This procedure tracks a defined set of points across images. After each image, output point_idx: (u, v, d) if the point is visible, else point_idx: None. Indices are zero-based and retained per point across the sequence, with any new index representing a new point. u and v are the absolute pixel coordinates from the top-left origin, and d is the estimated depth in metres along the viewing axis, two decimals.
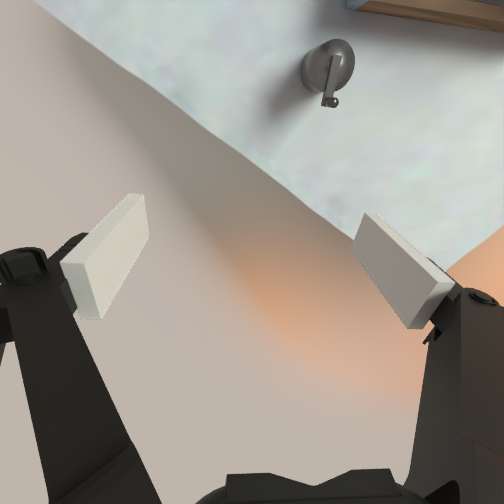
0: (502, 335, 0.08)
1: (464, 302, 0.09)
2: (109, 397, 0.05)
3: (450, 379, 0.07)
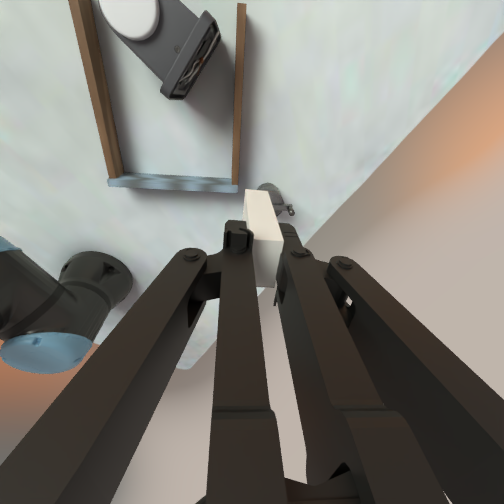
0: (322, 281, 0.09)
1: (290, 262, 0.10)
2: (263, 364, 0.06)
3: (306, 345, 0.07)
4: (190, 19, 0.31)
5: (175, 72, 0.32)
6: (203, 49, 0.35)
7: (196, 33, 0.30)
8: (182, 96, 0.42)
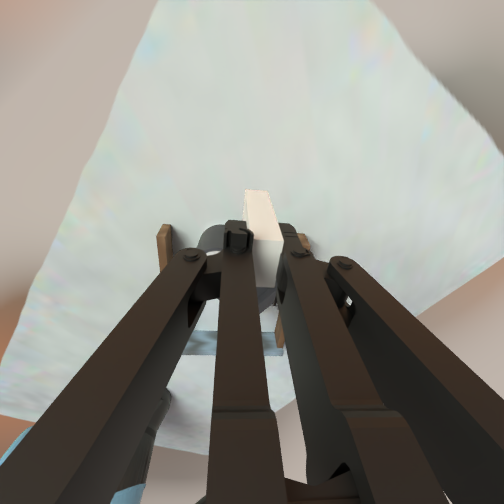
0: (322, 281, 0.09)
1: (290, 262, 0.10)
2: (263, 364, 0.06)
3: (306, 345, 0.07)
4: None
5: None
6: None
7: (273, 296, 0.35)
8: None
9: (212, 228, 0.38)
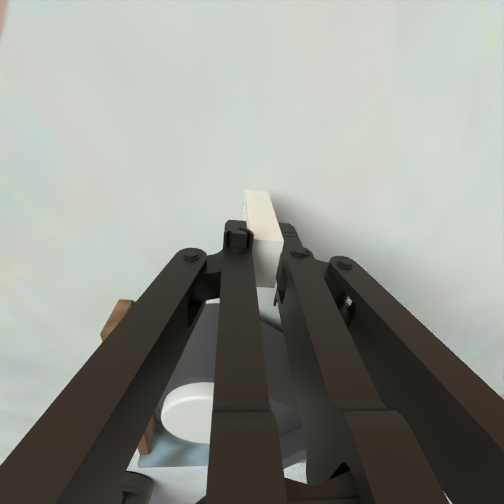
0: (322, 281, 0.09)
1: (290, 262, 0.10)
2: (264, 364, 0.06)
3: (306, 345, 0.07)
4: (297, 416, 0.20)
5: None
6: None
7: None
8: None
9: None
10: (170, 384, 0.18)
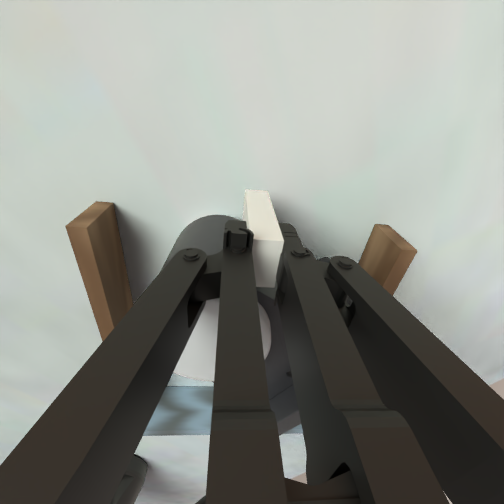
0: (322, 281, 0.09)
1: (290, 262, 0.10)
2: (263, 364, 0.06)
3: (306, 345, 0.07)
4: None
5: (289, 423, 0.16)
6: None
7: None
8: None
9: (198, 223, 0.18)
10: None
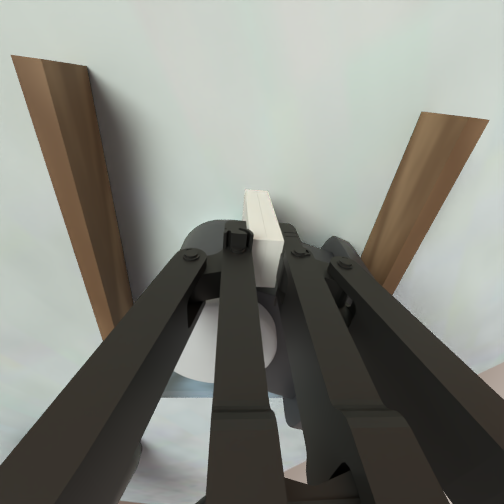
0: (322, 281, 0.09)
1: (290, 262, 0.10)
2: (263, 364, 0.06)
3: (306, 345, 0.07)
4: None
5: None
6: None
7: None
8: None
9: (192, 234, 0.18)
10: None
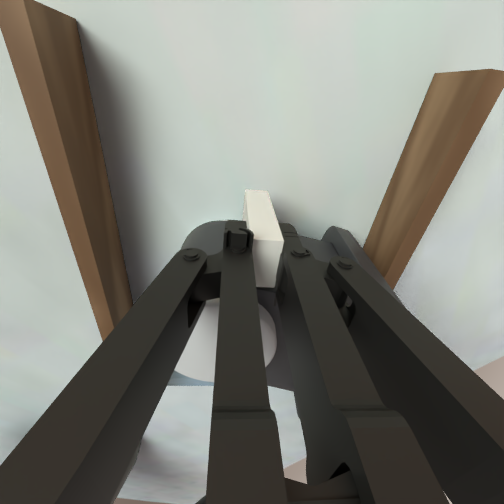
0: (322, 281, 0.09)
1: (290, 262, 0.10)
2: (263, 364, 0.06)
3: (306, 345, 0.07)
4: None
5: None
6: None
7: None
8: None
9: (188, 237, 0.18)
10: None
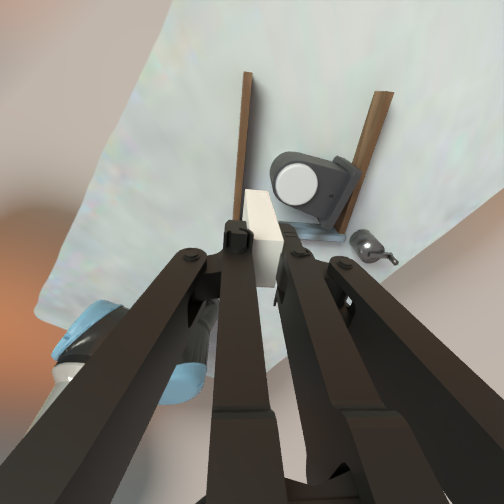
0: (322, 281, 0.09)
1: (290, 262, 0.10)
2: (263, 364, 0.06)
3: (306, 345, 0.07)
4: (339, 175, 0.40)
5: (336, 214, 0.42)
6: None
7: (350, 186, 0.39)
8: None
9: (277, 158, 0.45)
10: (275, 174, 0.40)
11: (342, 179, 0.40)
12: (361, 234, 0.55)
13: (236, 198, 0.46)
